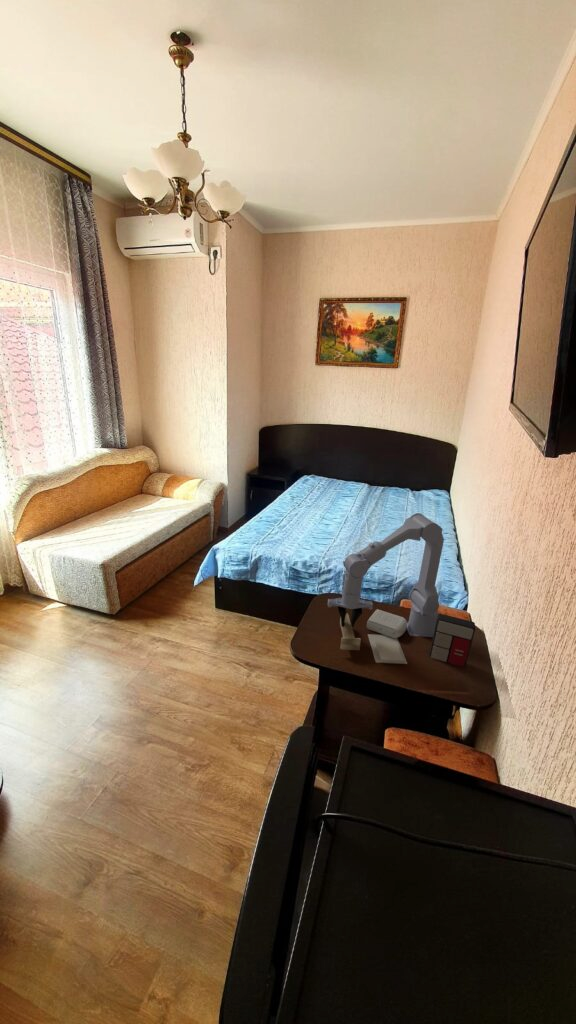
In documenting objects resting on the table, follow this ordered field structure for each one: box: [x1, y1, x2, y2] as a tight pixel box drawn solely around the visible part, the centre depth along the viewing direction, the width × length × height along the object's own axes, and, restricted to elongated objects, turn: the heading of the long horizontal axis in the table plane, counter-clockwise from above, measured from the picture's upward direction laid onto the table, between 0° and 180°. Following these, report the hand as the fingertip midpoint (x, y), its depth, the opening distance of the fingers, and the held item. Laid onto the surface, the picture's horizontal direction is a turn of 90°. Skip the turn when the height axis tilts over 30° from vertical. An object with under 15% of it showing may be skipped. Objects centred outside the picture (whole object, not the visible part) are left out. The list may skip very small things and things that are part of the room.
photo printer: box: [366, 608, 408, 639], centre depth 144 cm, size 10×4×12 cm
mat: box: [367, 633, 408, 665], centre depth 134 cm, size 10×14×1 cm
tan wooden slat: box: [339, 612, 362, 651], centre depth 136 cm, size 6×16×4 cm, turn 0°
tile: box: [375, 641, 404, 665], centre depth 131 cm, size 7×2×9 cm
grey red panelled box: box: [428, 612, 476, 668], centre depth 129 cm, size 11×4×15 cm, turn 68°
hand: (347, 625), depth 136 cm, fingers closed on tan wooden slat, 2 cm apart
